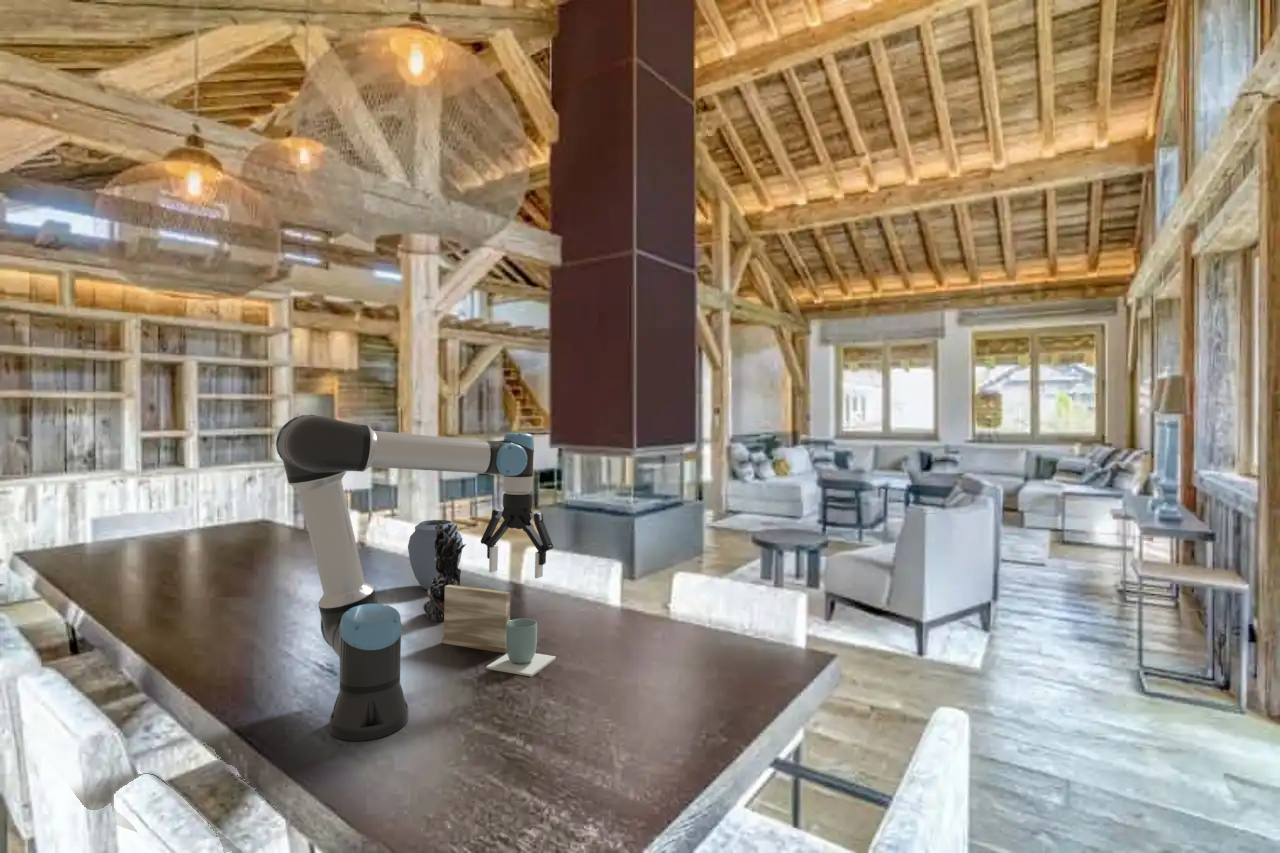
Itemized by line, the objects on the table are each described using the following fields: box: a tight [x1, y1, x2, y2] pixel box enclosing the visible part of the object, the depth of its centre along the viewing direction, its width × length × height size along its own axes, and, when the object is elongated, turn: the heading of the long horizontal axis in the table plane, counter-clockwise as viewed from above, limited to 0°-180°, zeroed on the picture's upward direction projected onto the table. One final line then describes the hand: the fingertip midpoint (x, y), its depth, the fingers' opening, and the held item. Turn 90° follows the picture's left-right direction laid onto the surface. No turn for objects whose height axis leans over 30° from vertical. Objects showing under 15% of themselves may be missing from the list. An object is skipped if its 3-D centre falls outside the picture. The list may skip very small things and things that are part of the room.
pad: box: [485, 652, 557, 678], centre depth 170 cm, size 13×13×1 cm
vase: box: [407, 519, 464, 591], centre depth 242 cm, size 20×20×24 cm
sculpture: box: [422, 519, 467, 622], centre depth 208 cm, size 14×15×30 cm
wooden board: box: [441, 585, 511, 654], centre depth 182 cm, size 3×21×16 cm, turn 70°
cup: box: [506, 618, 538, 664], centre depth 170 cm, size 8×8×10 cm
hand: (515, 574), depth 170 cm, fingers open, 13 cm apart
